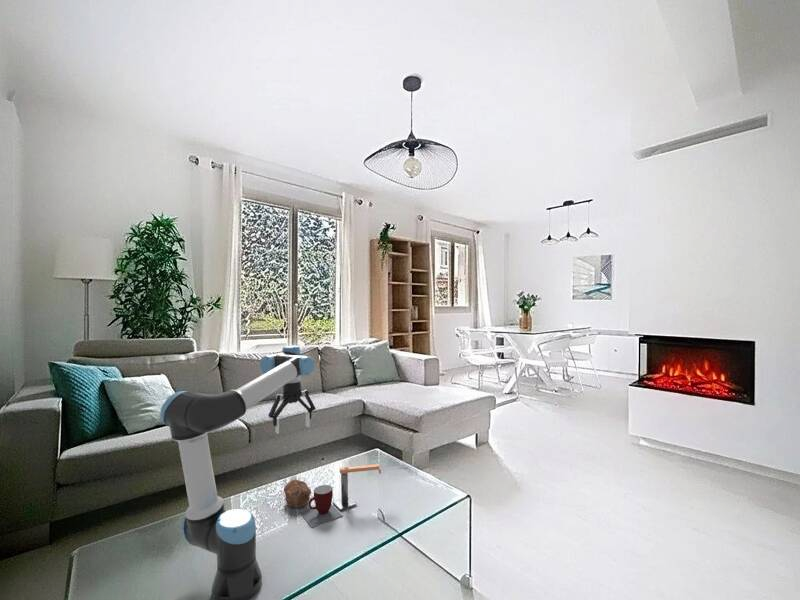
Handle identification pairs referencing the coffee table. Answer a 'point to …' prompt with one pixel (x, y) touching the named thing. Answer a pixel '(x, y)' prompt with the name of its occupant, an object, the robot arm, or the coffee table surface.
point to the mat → (320, 516)
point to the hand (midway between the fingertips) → (292, 429)
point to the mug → (322, 499)
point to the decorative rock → (297, 493)
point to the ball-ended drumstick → (360, 468)
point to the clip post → (344, 495)
